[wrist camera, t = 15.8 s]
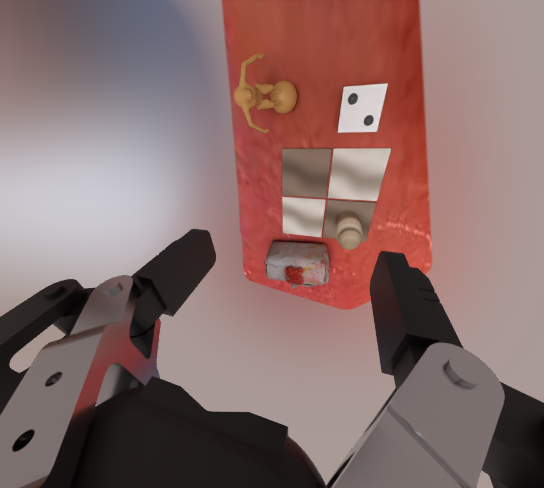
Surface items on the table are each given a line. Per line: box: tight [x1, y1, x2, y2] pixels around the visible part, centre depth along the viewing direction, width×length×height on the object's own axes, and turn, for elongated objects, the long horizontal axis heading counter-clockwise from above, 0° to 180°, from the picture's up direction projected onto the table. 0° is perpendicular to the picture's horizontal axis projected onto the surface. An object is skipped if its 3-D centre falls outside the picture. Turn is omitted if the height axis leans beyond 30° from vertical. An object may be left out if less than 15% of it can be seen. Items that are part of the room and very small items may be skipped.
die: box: [338, 83, 388, 133], centre depth 27 cm, size 5×5×5 cm
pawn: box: [336, 212, 363, 249], centre depth 35 cm, size 4×4×8 cm
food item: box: [264, 242, 329, 289], centre depth 43 cm, size 14×8×10 cm, turn 97°
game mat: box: [282, 148, 391, 242], centre depth 37 cm, size 18×18×1 cm
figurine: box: [234, 53, 297, 133], centre depth 26 cm, size 8×6×12 cm
